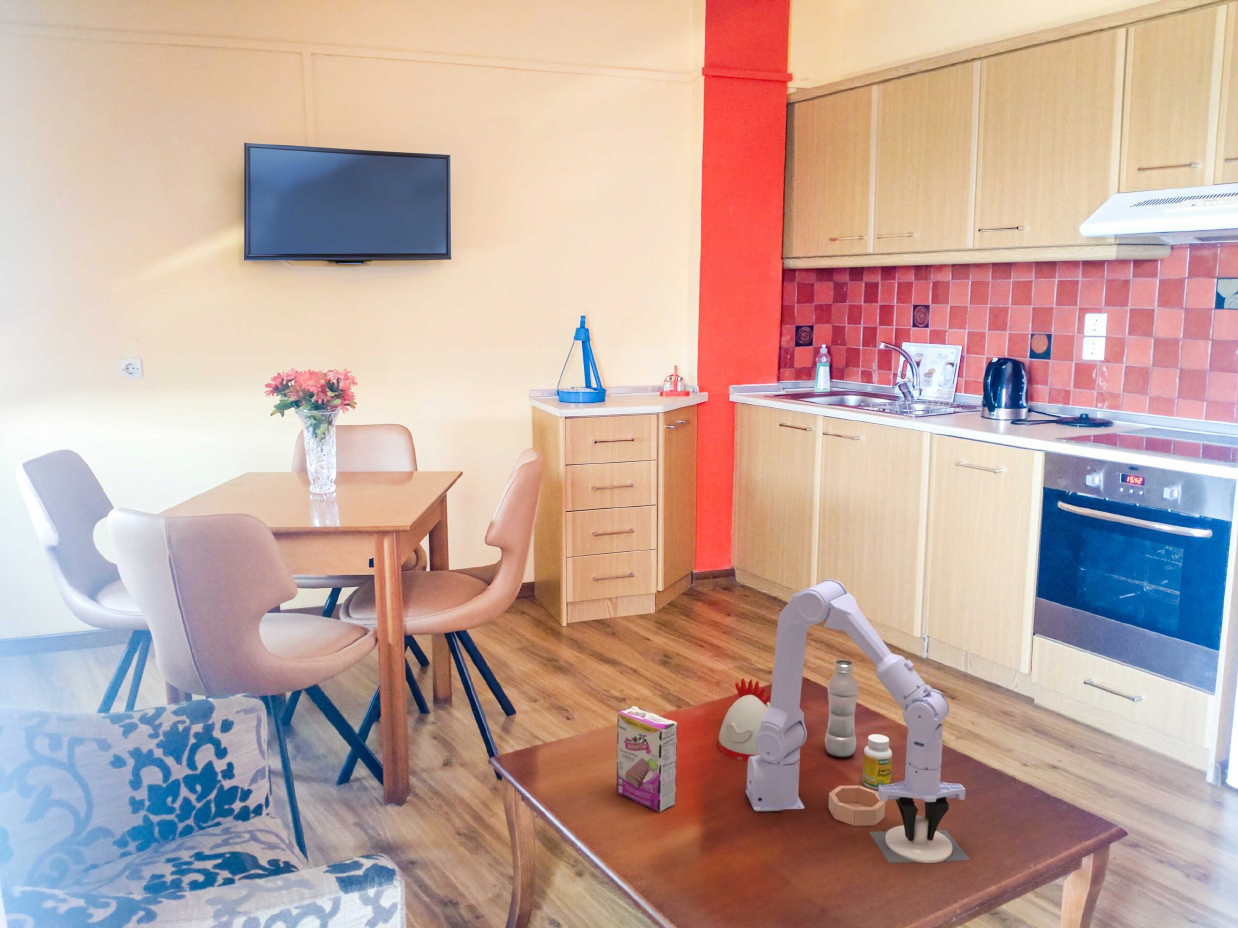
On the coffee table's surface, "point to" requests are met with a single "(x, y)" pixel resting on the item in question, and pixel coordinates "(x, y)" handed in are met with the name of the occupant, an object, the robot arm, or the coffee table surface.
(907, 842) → the lid
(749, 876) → the coffee table surface
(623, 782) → the candy bar box
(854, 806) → the bowl
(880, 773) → the supplement bottle
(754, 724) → the white and red dome
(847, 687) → the plastic bottle
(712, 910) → the coffee table surface
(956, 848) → the mat
